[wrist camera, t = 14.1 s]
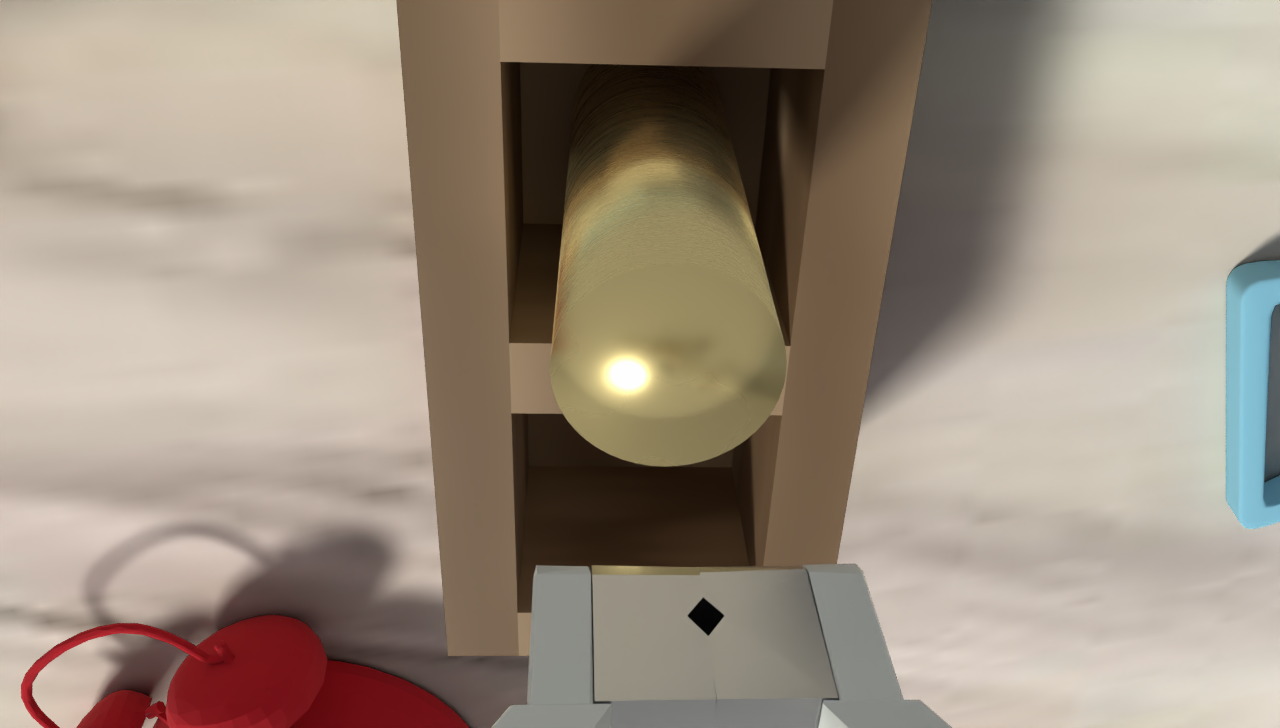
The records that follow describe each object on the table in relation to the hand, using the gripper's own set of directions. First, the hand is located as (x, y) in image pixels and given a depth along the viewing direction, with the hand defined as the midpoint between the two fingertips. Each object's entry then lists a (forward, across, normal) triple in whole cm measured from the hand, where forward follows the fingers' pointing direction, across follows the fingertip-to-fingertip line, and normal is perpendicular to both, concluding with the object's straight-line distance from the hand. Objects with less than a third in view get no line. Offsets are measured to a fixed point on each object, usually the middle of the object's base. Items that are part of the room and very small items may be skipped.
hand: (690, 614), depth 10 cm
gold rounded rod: (+14, 0, 0) cm, 14 cm away
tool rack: (+15, 0, -4) cm, 16 cm away
